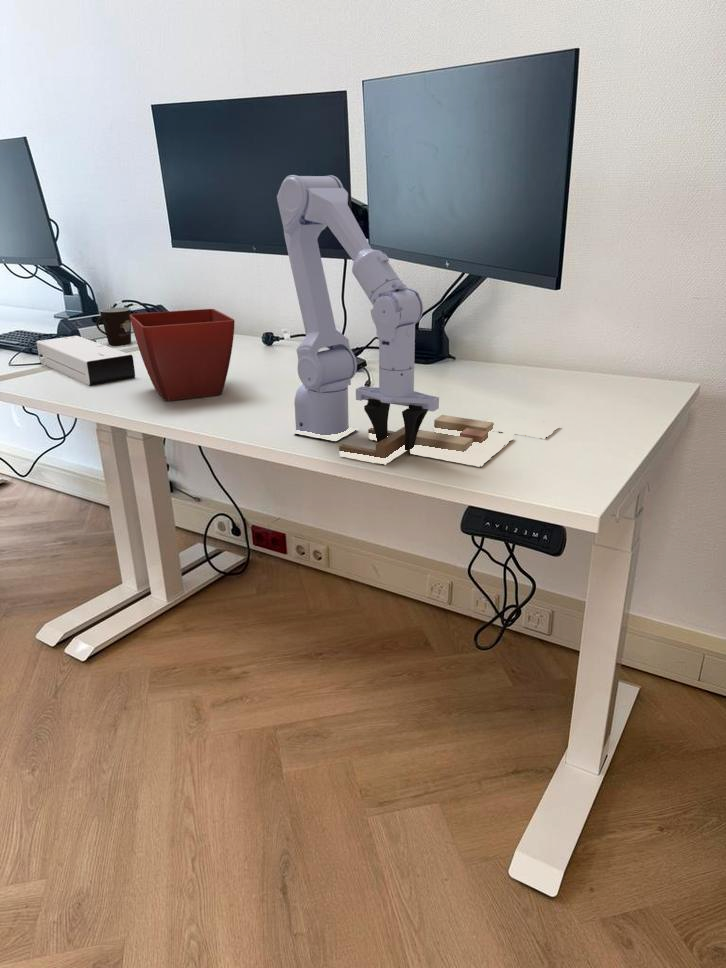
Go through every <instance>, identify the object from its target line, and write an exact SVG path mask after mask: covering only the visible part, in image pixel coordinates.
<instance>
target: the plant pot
mask: <svg viewBox="0 0 726 968" xmlns="http://www.w3.org/2000/svg"><path fill="white" fill-rule="evenodd" d="M130 319H131V328H132V330H133V334H134V337H135V340H136V344H137V348H138V349H139V350H138V351H139V352H140V356H141V359H142V361H143V364H144V366H145V369H146V371H147V374H148V376H149V378H150V381H151V383H152V386H153V387H154V389H155V390H156V392H157V393H158V394H159V396H160V397H161V398H162V400H164V401H168V402H169V401H176V400H185V399H194V398H205V397H213V396H214V395H215V396H219V395H222V394H223V392H224V391H223V390H224V387H225V384H226V380H227V377H228V372H229V367H230V362H231V358H232V357H231V356H232V350H233V346H234V345H233V344H234V337H235V319H233V317H230V316H228V315H227V314H225V313H222V312H221V311H218V310H217V309H214V308H203V309H189V310H188V309H186V310H184V309H183V310H173V311H171V310H170V311H158V312H157V311H156V312H155V311H154V312H153V311H152V312H143V313H131V314H130Z"/></svg>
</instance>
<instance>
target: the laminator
mask: <svg viewBox="0 0 726 968" xmlns="http://www.w3.org/2000/svg"><path fill="white" fill-rule="evenodd" d="M35 344H36V348H37V349H36V350H37V352H38V359H39V362H40V364H42V365H44V364H45V365H44V366H46V365H47V366H46V367H48V368H51V369H52V370H55V371H57V372H59V373H61V374H63V375H65V376H68V377H70V378H72V379H74V380H76V381H78V382H81V383H83V384H85V385H87V386H90V387H91V386H95V385H102V384H106V383H112V382H117V381H118V382H119V381H123V380H124V381H125V380H128V379H134V378H136V370H135V364H134V363H135V362H134V356H133V354H130V353H127V352H124V351H122V350H119V349H116V348H114V347H112V346H109V345H105V344H101V343H99V342H96V341H93V340H91V339H88V338H85V337H82V336H79V335H72V336H64V337H56V338H49V339H42V340H36V342H35Z"/></svg>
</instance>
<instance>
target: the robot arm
mask: <svg viewBox="0 0 726 968" xmlns="http://www.w3.org/2000/svg"><path fill="white" fill-rule="evenodd" d="M276 199H277V200H276V202H277V205H278V209H279V215H280V219H281V223H282V229H283V235H284V240H285V245H286V250H287V255H288V259H289V262H290V269H291V272H292V273H291V274H292V277H293V282H294V286H295V291H296V296H297V300H298V305H299V309H300V314H301V318H302V322H303V327H304V333H305V337H304V339H303V340H302V341H301V342H300V343H299V345H298V347H297V348H296V353H297V375H298V378H299V380H300V382H301V383H302V384H301V385H300V386H299V387H298V388H297V390H296V391H295V396H294V414H295V415H294V417H295V431H296V430H300V431H307V432H312V433H315V434H320V435H331V434H338V433H341V432H344V431H346V430H347V429H348V428H349V425H350V424H349V423H350V422H349V386H350V385H352V381H351V380H352V379H354V377H355V376H356V374H357V369H358V363H357V362H358V361H357V359H356V356H355V354H354V352H353V351H352V348H351V346H350V342H349V338H347V336H345V335H344V334H342V332H340V331H339V330H338V329H337V328H336V323H335V319H334V314H333V309H332V304H331V299H330V294H329V290H328V284H327V279H326V276H325V271H324V266H323V261H322V256H321V255H322V254H321V252H320V247H319V242H318V238H319V237H320V235H321V233H322V231H323V230H325V229H326V228H327V227H328V228H329V229H330V230H329V231H331V233H332V234H333V235H334V236H335V238H336V239H337V241H338V242H339V244H340V245H341V246H342V247H343V249H344V250H345V251H346V253H347V254H348V255H349V257H350V258H351V260H352V261H353V263H352V268H351V270H352V271H351V273H352V275H353V276H354V277H355V279H356V281H357V282H358V284H359V285H360V287H361V289H362V290H363V292H364V293H365V295H366V297H367V298H368V300H369V301H370V303H371V304H372V308H371V309H370V315H371V319H372V322H373V323H374V325H375V329H376V336H377V339H378V349H379V350H378V354H379V355H378V361H379V362H378V387H375V386H374V387H372V386H359V387H358V388H355V400H356V401H367V403H366V404H365V405H364V406H363V408H364V409H363V410H364V412H365V413H366V415H367V416H368V419H369V420H370V423H371V425H372V428H374V431H375V434H376V438H377V441H376V443H378V442H380V441H381V440H383V439H385V438H386V437H387V436H388V431H389V430H388V429H389V428H388V427H389V426H388V420H389V415H390V414H389V412H390V407H391V405H396V406H402V407H403V406H404V407H408V408H406V409H404V410H402V412H401V415H402V418H403V424H404V425H403V427H404V426H405V450H408V451H409V450H410V449H412V448H413V447H414V445H415V440H416V437H417V433H418V430H420V428H421V425H422V423H423V421H424V419H425V417H426V415H427V413H428V412H435V411H436V410H438V409H439V407H440V396H435V395H429V394H425V393H422V392H418V391H415V352H416V351H415V349H416V347H415V346H416V345H415V344H416V342H415V340H416V324H417V323H418V322H420V321H421V319H422V316H423V312H424V304H423V301H422V298H421V297H420V294H419V293H420V292H418V291H417V290H416V289H415V288H413V287H408V285H406V283H404V282H403V280H402V279H400V278H399V276H398V274H397V273H396V271H395V270H394V268H393V266H392V265H391V263H390V262H389V260H390V258H389V256H387V253H384V252H383V251H382V250H379V249H372V247H371V245H370V243H369V242H368V240H367V238H366V236H365V234H364V232H363V230H362V228H361V227H360V224H359V222H358V221H357V219H356V217H355V215H354V213H353V211H352V209H351V208H350V207H349V205H348V202H349V193H348V191H347V190H346V188H344V185H343V184H342V181H341V180H340V178H338V177H337V176H335V175H332V174H328V175H323V176H322V175H321V176H320V175H318V176H317V175H316V176H315V175H313V176H312V175H296V174H290V175H287V176H286V177H285V178H284V180H283V181H282V182H281V185H280V187H279V190H278V193H277V195H276ZM323 348H324V349H325V348H328V349H326V350H321V349H323ZM320 350H321V351H320Z"/></svg>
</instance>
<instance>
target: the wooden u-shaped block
mask: <svg viewBox="0 0 726 968" xmlns="http://www.w3.org/2000/svg"><path fill="white" fill-rule="evenodd" d="M493 425H494V423H493V422H487V421H486V420H479V419H471V418H466V417H461V416H460V417H458V416H455V415H454V416H452V415H446V414H441V415H440V416H438V417H436V418H435V419H434V421H433V428H434V427H435V428H441V429H448V430H457V431H462V432H461V433H460V436H454V435H448V434H442V433H436V432H434V431H428V430H424V429H423V430H422V429H419V430H418V433H417V437H416V440H415V445H422V446H429V447H435V448H441V449H448V450H456V451H462V452H464V451H466V450H467V449H468V448H469V447H470V446H472V443H473V442H479V443H482V442H483V441H485V440H486V439H487V438H488V432H489V431H491V430H492V429H493Z"/></svg>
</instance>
